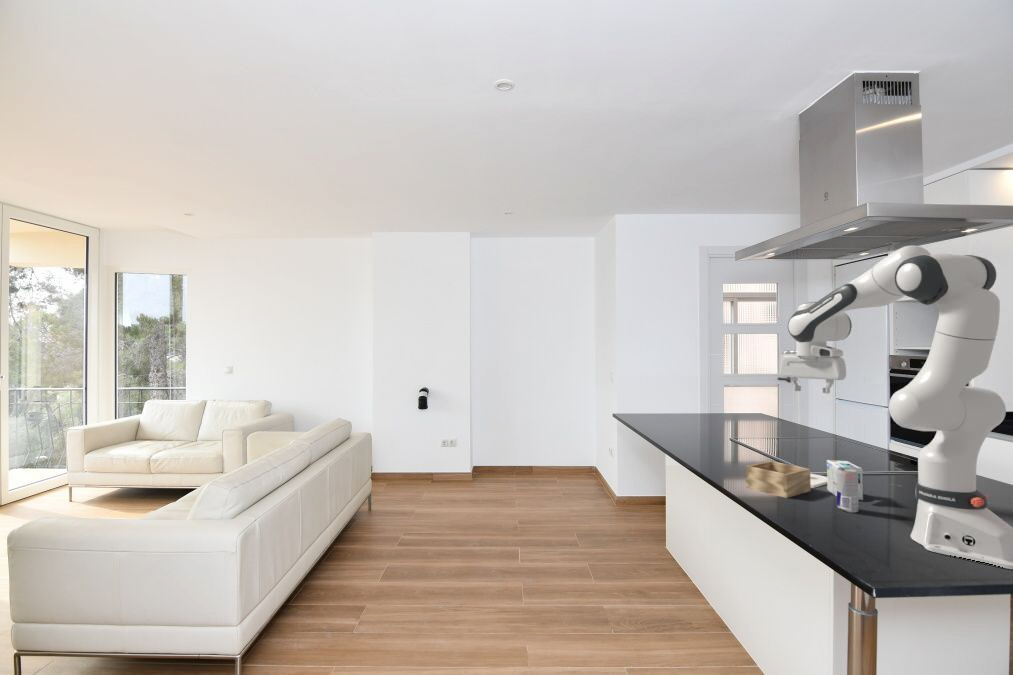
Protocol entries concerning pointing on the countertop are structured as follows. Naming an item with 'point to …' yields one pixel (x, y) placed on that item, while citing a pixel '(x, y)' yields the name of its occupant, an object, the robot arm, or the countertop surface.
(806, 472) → the box
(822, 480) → the lid
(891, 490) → the countertop surface
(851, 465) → the light bulb box
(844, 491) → the energy drink
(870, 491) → the countertop surface
